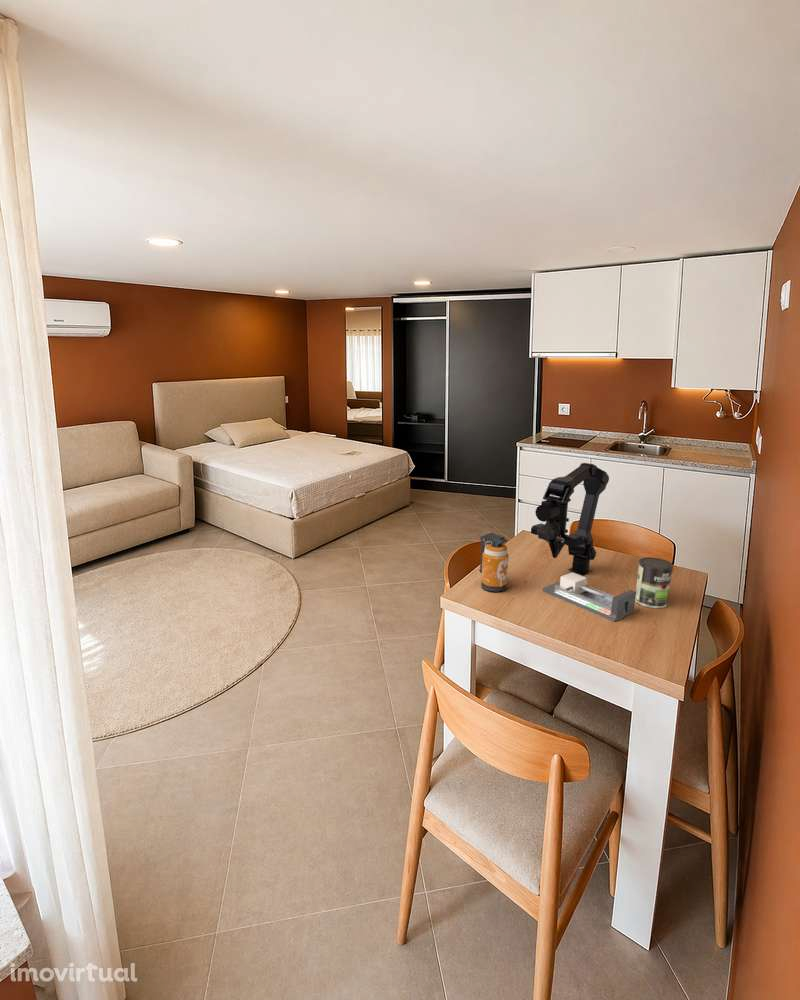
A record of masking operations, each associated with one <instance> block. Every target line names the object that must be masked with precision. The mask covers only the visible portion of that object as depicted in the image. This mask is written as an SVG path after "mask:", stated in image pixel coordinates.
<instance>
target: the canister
mask: <svg viewBox="0 0 800 1000" xmlns="http://www.w3.org/2000/svg"><path fill="white" fill-rule="evenodd" d="M479 538H480V543H481V545H480V564H479V565H480V567H479V569H478V571H479V573H480V575H481V578H480V579H481V583H480V587H481V588H483V590H486V591H489V592H496V593H497V592H502V591H505V590H506V589H507V587H508V573H509V572H508V571H509V556H510V555H509V553H508V547H507V545H506V544H504V543H506V542H508V539H507V538H506V537H505V536H503V535H498V534H495V533H494V532H493V531H491V532H490V533H486V534H484V535H482V536H480V537H479Z"/></svg>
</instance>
